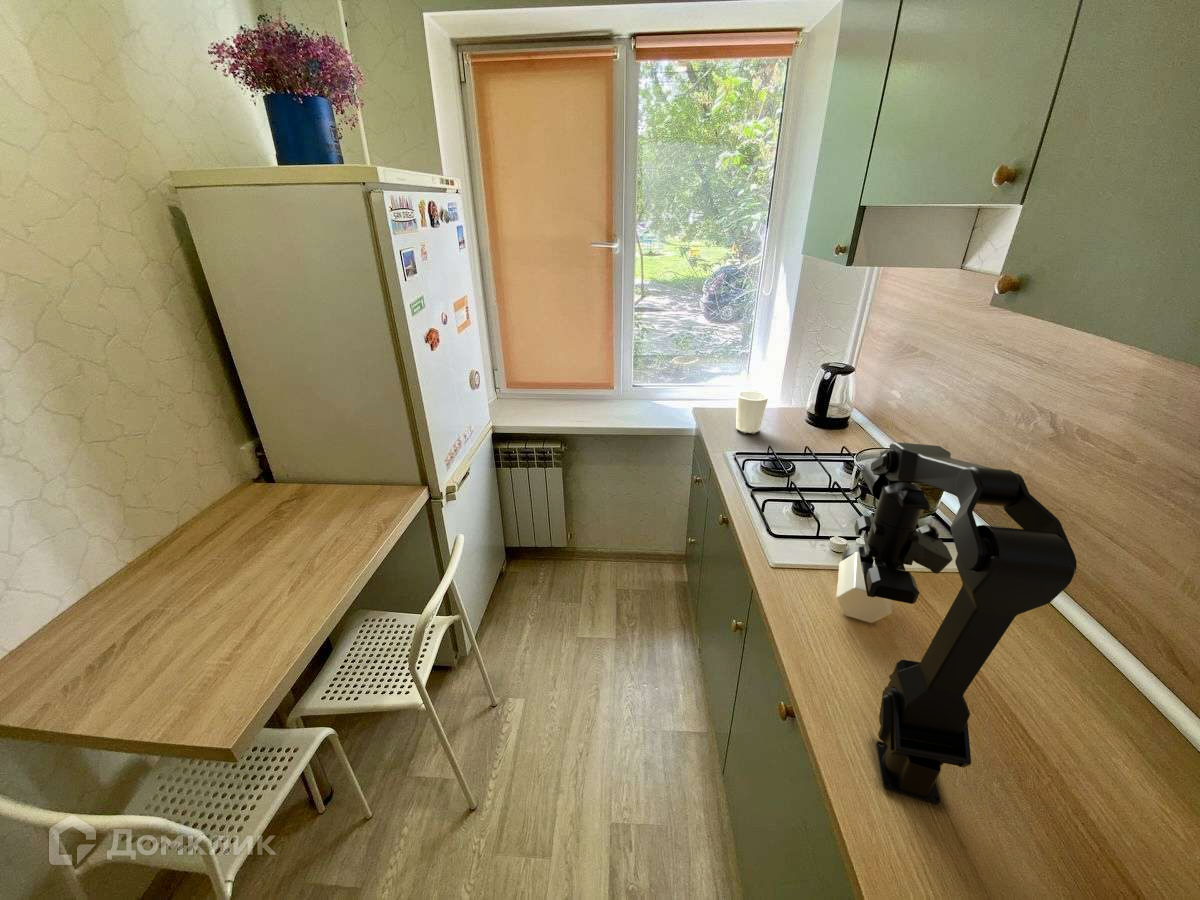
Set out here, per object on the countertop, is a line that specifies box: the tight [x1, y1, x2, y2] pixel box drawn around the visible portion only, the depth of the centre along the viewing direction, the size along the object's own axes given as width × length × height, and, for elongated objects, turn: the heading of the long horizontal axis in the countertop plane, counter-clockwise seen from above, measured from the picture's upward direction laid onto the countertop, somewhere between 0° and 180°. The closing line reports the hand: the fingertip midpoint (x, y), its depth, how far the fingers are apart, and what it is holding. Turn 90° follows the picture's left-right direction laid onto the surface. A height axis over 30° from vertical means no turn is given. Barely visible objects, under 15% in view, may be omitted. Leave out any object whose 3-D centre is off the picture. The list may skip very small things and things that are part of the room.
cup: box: [735, 390, 769, 435], centre depth 164 cm, size 10×10×13 cm
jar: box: [835, 543, 893, 624], centre depth 92 cm, size 9×8×12 cm
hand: (870, 595), depth 83 cm, fingers closed
